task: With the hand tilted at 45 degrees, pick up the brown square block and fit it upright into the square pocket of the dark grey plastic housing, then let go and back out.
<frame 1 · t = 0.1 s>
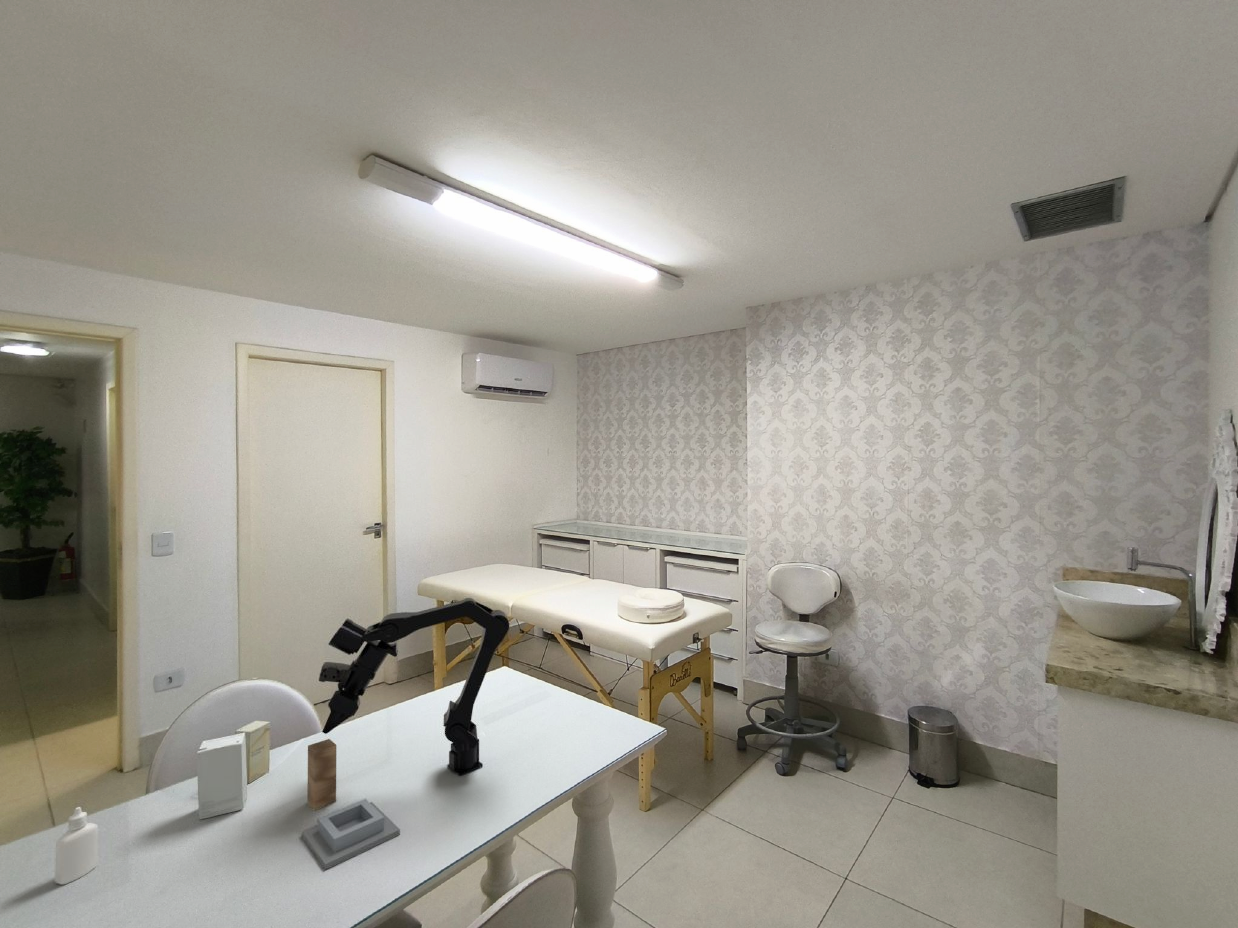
hand: (328, 724, 130), 15 cm above the table, tool tilted 35°, fingers open, 9 cm apart
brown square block: (321, 801, 124), on the table
skincare box 2: (222, 809, 121), on the table
skincare box: (252, 777, 135), on the table
housing: (350, 835, 112), on the table
eye dropper bottle: (76, 875, 101), on the table
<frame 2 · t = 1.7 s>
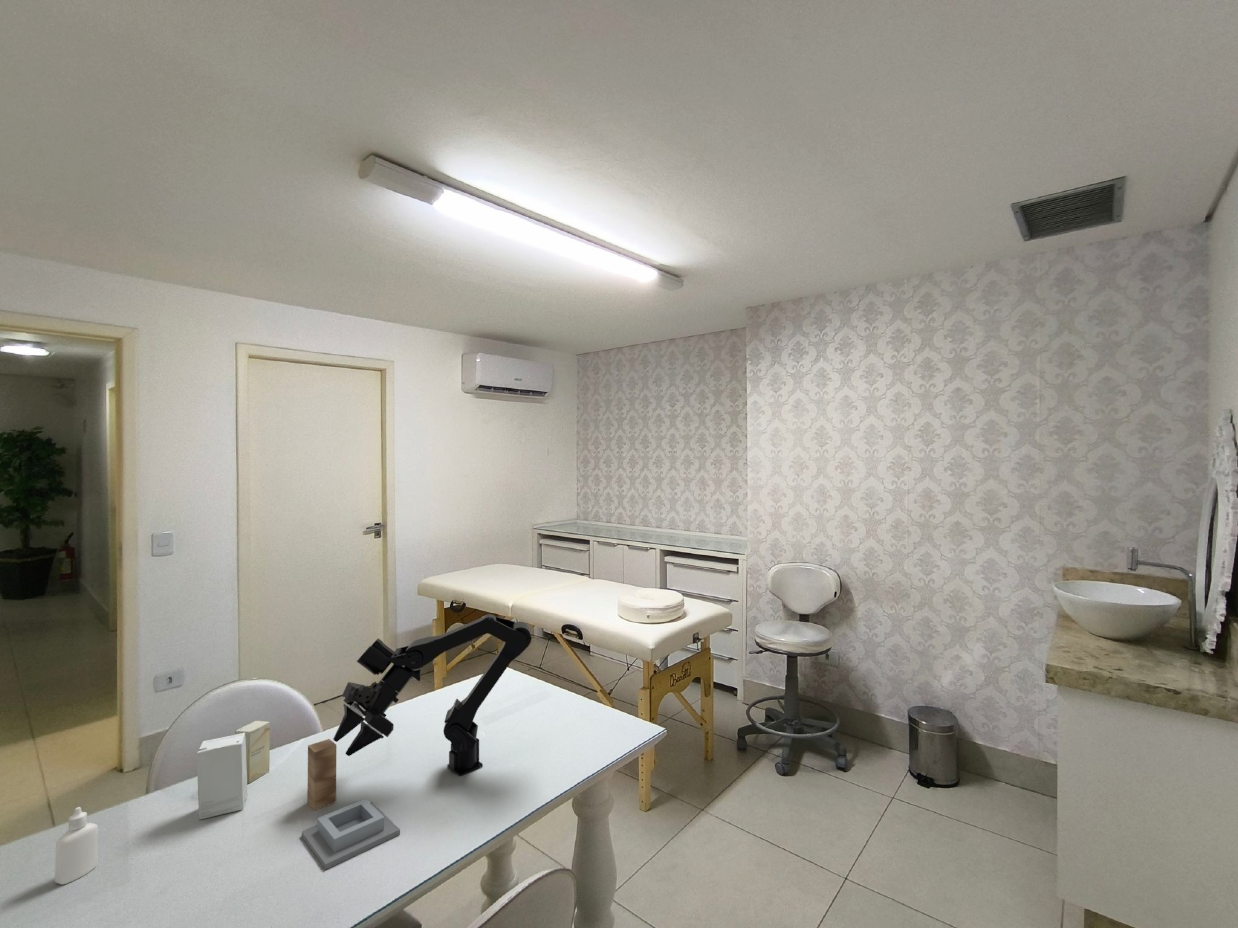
hand: (340, 747, 127), 11 cm above the table, tool tilted 45°, fingers open, 9 cm apart
nothing on the table moved.
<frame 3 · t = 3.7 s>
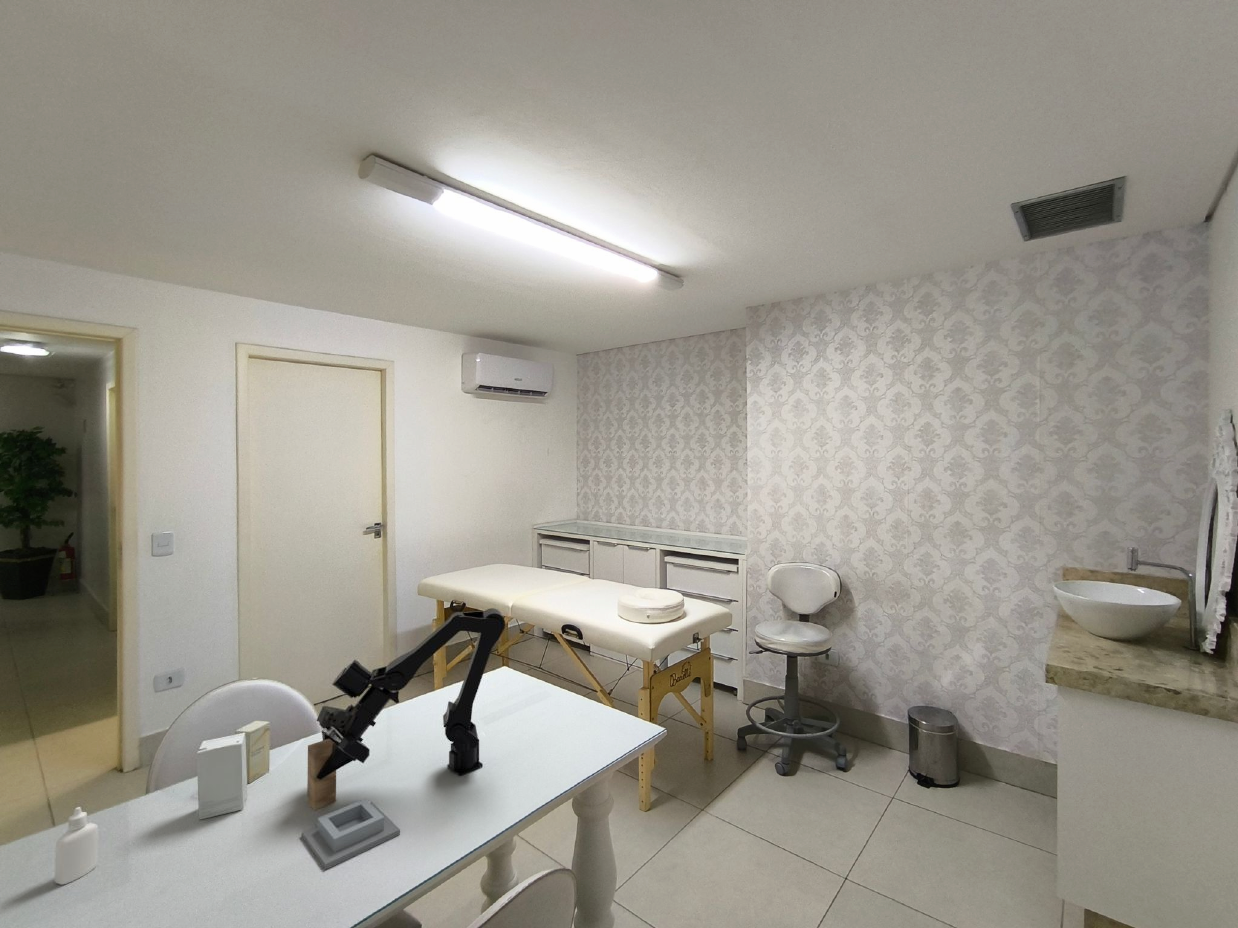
hand: (315, 774, 123), 7 cm above the table, tool tilted 45°, fingers closed on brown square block, 5 cm apart
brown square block: (321, 801, 124), on the table, touching gripper
everything else where it was.
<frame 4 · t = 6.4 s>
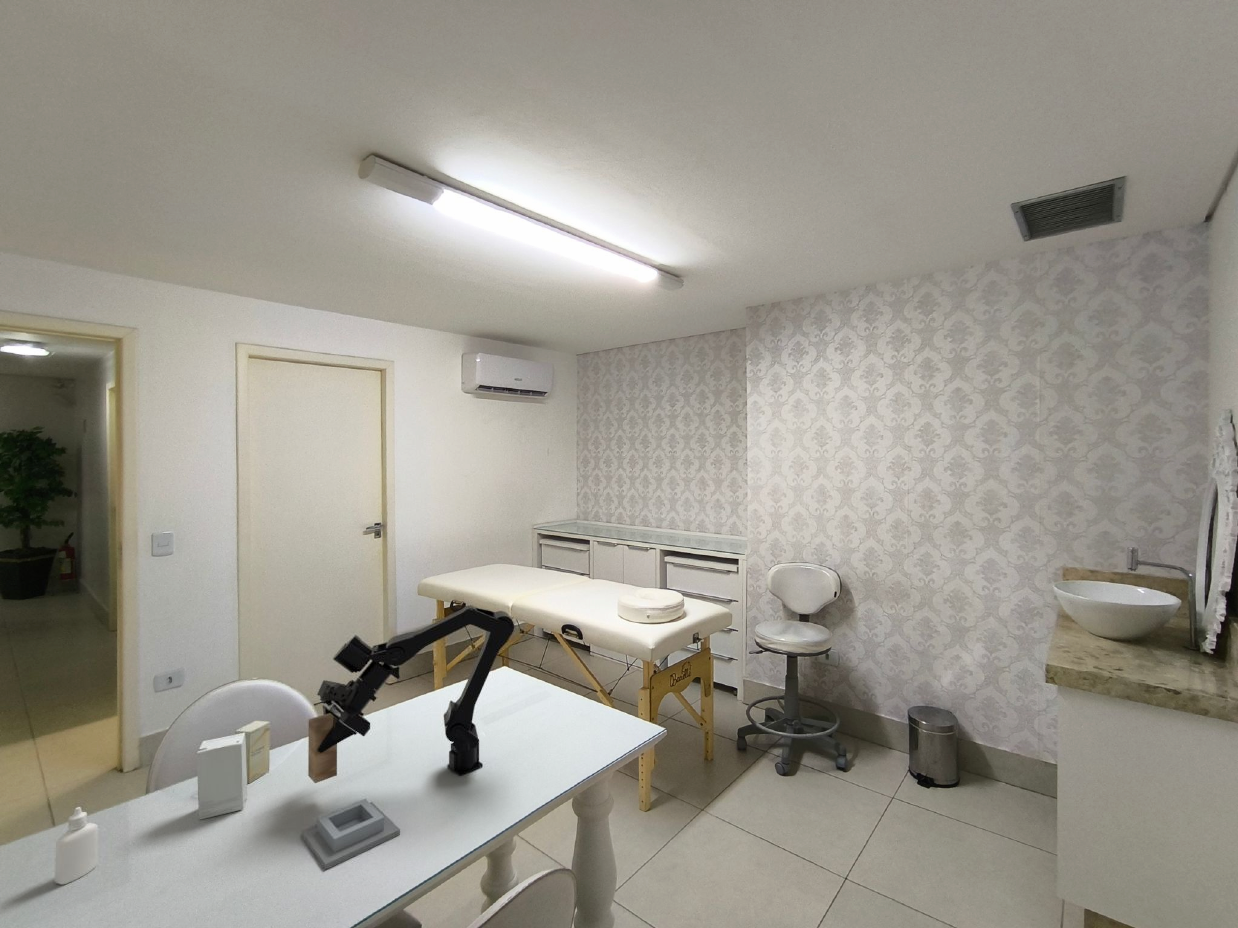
hand: (315, 747, 123), 12 cm above the table, tool tilted 45°, fingers closed on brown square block, 5 cm apart
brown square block: (322, 775, 124), point 6 cm above the table, touching gripper
everything else where it was.
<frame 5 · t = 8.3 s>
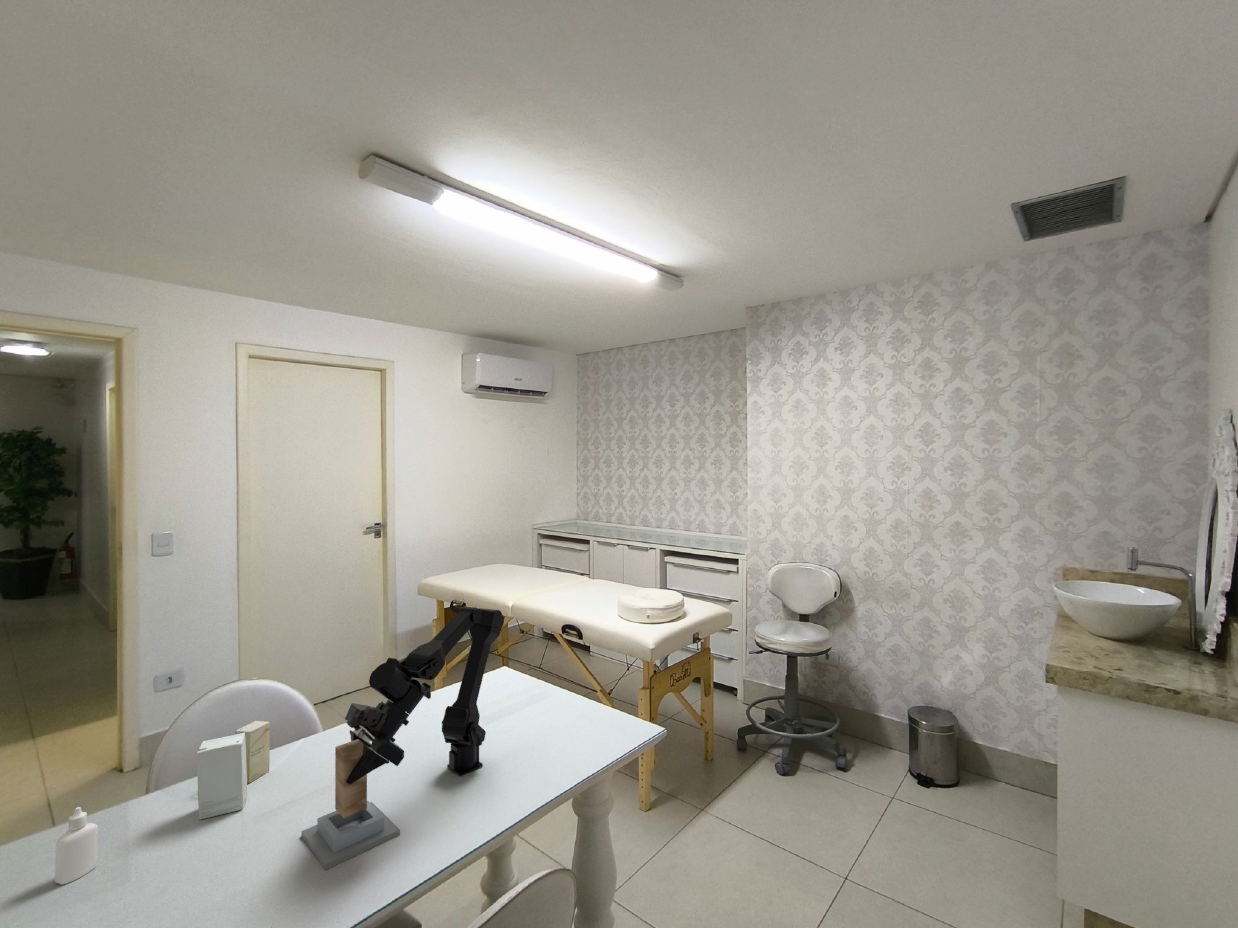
hand: (344, 778, 111), 12 cm above the table, tool tilted 45°, fingers closed on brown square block, 5 cm apart
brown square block: (351, 808, 112), point 5 cm above the table, touching gripper
everything else where it was.
when the fingers open (8 cm above the table, at t = 9.5 s): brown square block stays where it is, resting on housing.
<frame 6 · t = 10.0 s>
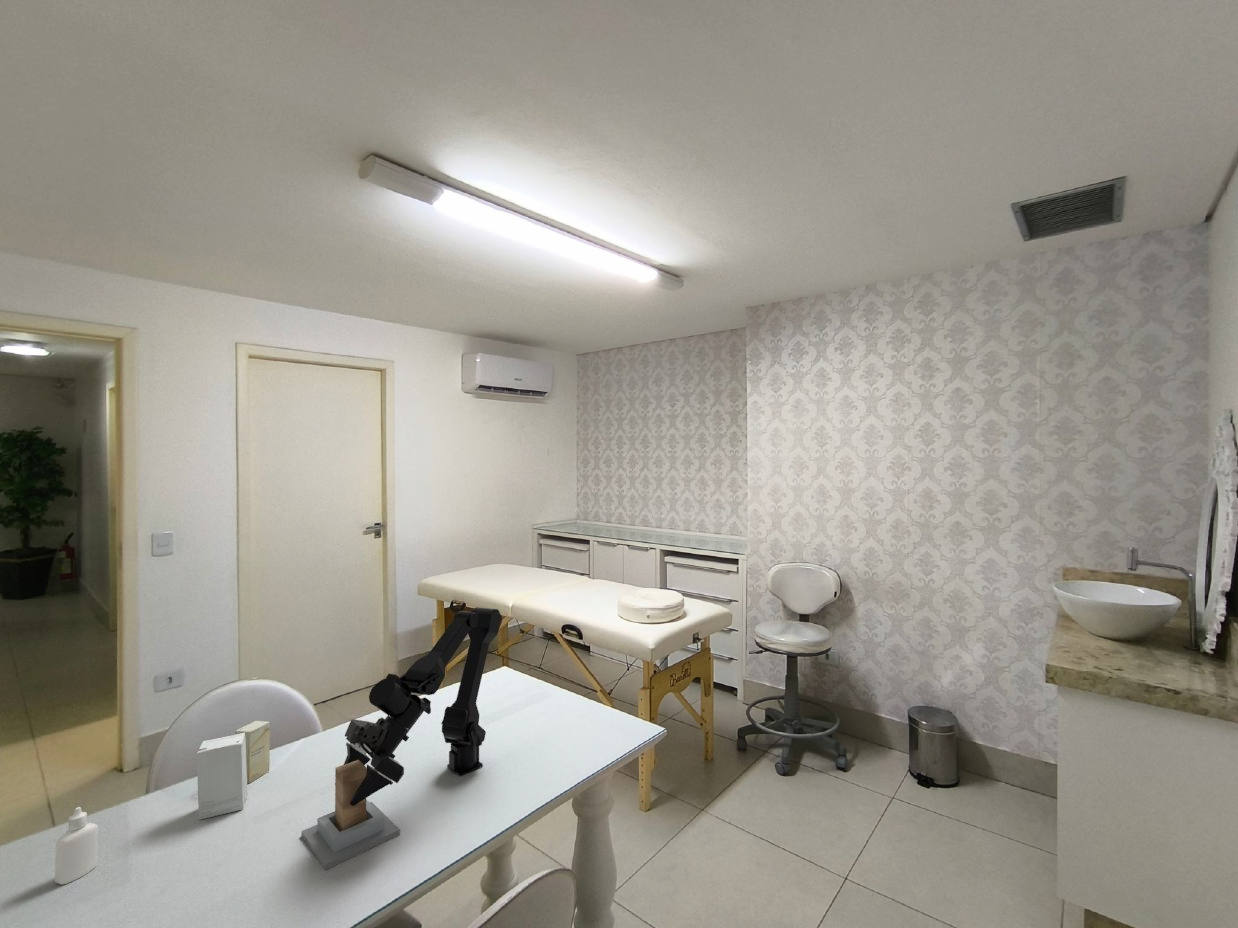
hand: (343, 794, 111), 9 cm above the table, tool tilted 45°, fingers open, 9 cm apart
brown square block: (350, 829, 112), point 1 cm above the table, touching housing
everything else where it was.
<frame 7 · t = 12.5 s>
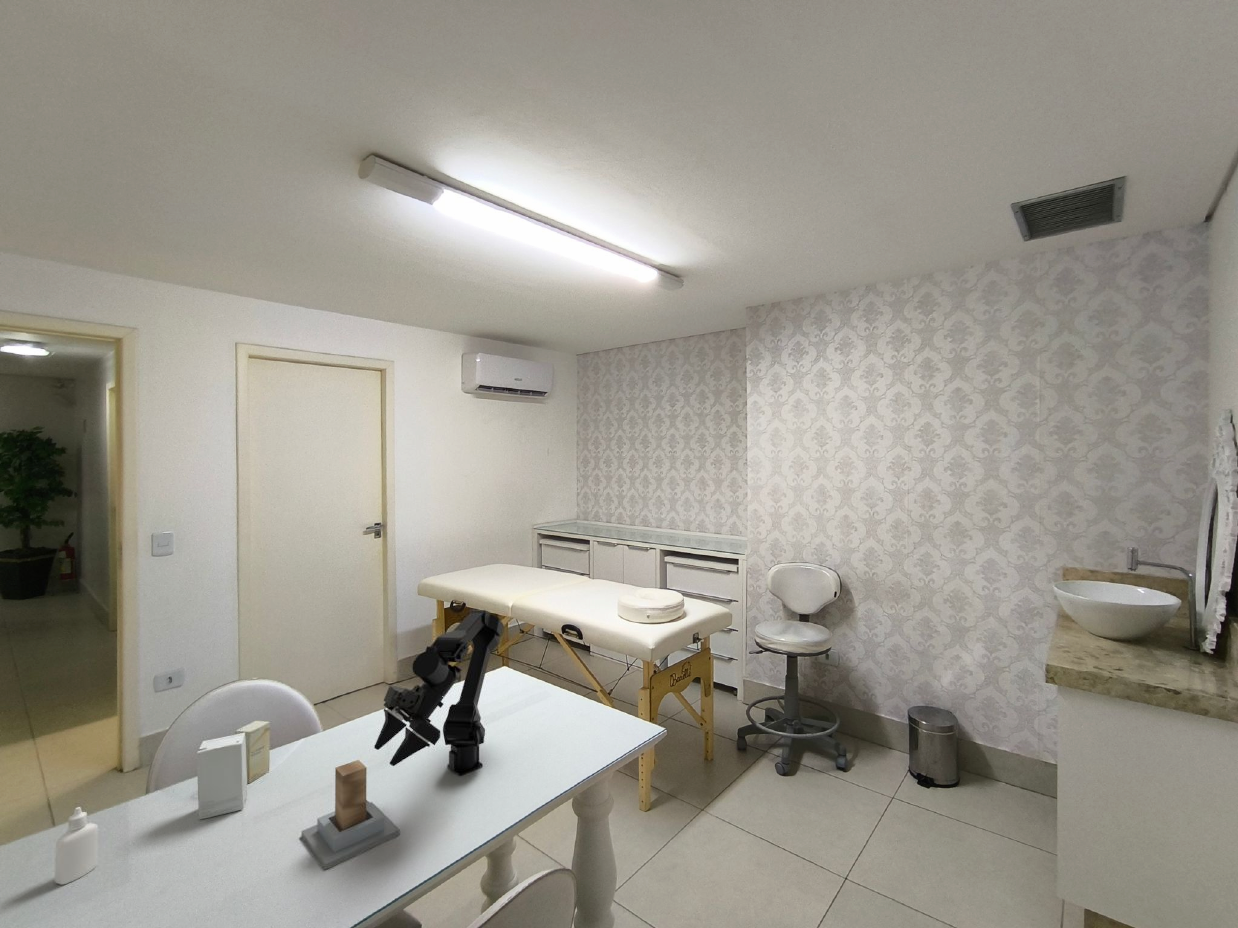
hand: (383, 756, 117), 13 cm above the table, tool tilted 45°, fingers open, 9 cm apart
nothing on the table moved.
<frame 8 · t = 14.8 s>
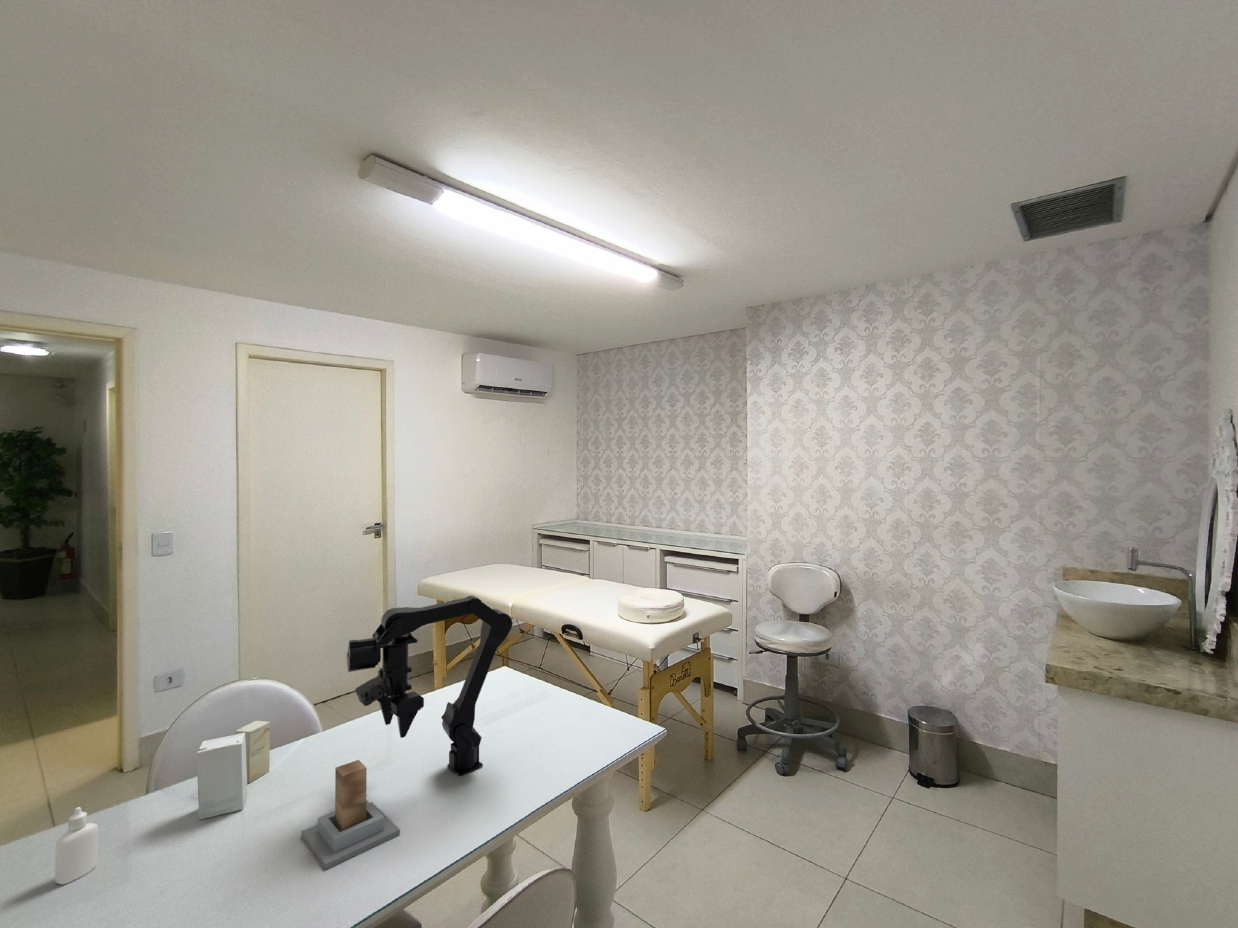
hand: (395, 730, 130), 13 cm above the table, tool pointing down, fingers open, 9 cm apart
nothing on the table moved.
at the end: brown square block 0.0 cm off-centre on the housing, point 1.0 cm above the housing's base; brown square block tilted 0°; the gripper is holding nothing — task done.
